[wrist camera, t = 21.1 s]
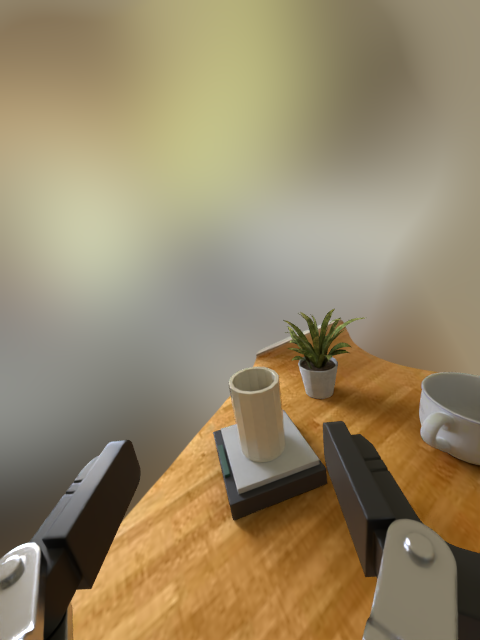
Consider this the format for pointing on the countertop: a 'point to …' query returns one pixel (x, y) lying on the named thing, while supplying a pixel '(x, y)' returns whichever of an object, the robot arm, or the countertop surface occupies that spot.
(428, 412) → the teacup
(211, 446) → the countertop surface
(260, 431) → the tumbler
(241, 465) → the scale
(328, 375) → the house plant
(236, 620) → the countertop surface
